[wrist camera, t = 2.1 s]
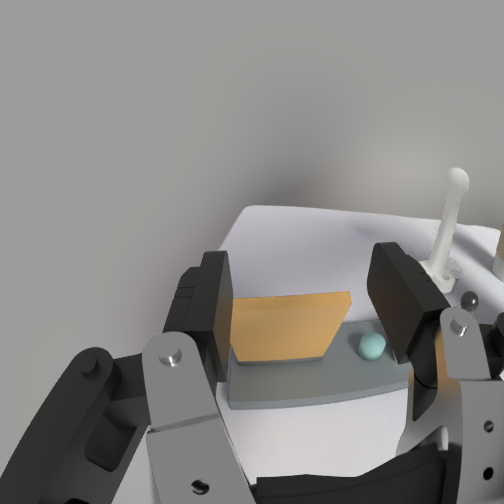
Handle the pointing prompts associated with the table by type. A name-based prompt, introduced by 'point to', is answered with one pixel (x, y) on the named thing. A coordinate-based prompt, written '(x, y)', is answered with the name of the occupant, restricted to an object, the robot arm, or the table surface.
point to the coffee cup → (499, 258)
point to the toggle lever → (468, 301)
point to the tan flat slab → (286, 327)
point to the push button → (371, 346)
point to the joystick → (447, 234)
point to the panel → (320, 375)
